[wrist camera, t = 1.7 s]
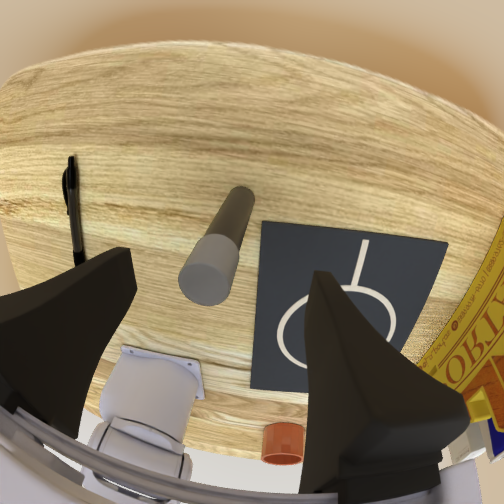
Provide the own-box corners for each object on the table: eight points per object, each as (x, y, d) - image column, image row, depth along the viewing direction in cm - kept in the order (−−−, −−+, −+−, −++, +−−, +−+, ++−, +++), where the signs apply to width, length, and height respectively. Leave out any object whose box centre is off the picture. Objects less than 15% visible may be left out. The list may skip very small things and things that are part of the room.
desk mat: (250, 386, 29) (249, 389, 29) (262, 220, 20) (261, 223, 19) (374, 390, 28) (375, 393, 28) (447, 242, 18) (449, 244, 18)
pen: (66, 153, 18) (57, 157, 17) (80, 154, 18) (72, 158, 17) (80, 288, 25) (74, 294, 24) (92, 292, 25) (87, 299, 24)
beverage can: (494, 325, 22) (544, 426, 9) (484, 355, 25) (521, 447, 12) (458, 341, 24) (502, 453, 11) (450, 369, 26) (482, 470, 13)
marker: (226, 211, 20) (180, 303, 11) (227, 183, 19) (175, 259, 10) (255, 213, 19) (230, 309, 11) (257, 185, 18) (230, 265, 10)
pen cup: (262, 436, 37) (259, 463, 32) (265, 421, 34) (262, 452, 29) (300, 438, 36) (299, 465, 32) (308, 423, 33) (308, 454, 29)
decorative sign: (429, 370, 26) (459, 479, 13) (411, 370, 26) (439, 486, 13) (521, 217, 16) (621, 318, 3) (506, 208, 16) (617, 316, 3)
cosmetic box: (445, 374, 26) (470, 453, 16) (471, 365, 26) (499, 439, 15) (432, 398, 29) (450, 469, 19) (457, 390, 28) (478, 458, 18)
